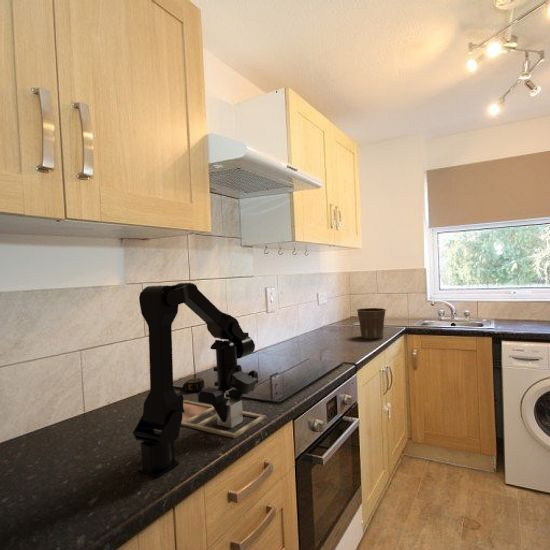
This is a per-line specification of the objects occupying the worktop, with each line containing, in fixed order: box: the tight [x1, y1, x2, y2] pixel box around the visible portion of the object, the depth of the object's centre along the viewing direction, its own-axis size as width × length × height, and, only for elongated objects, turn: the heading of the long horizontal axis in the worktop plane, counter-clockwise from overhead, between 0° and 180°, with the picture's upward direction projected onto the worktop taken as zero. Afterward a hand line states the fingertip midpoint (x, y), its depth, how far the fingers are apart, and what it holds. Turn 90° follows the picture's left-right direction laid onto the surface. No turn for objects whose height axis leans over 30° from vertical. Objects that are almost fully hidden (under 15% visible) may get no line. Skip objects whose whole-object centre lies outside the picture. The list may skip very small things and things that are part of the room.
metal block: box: [216, 397, 244, 429], centre depth 106 cm, size 5×5×6 cm
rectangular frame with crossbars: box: [181, 399, 267, 439], centre depth 111 cm, size 14×32×1 cm, turn 58°
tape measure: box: [182, 377, 205, 392], centre depth 138 cm, size 7×7×4 cm
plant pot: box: [356, 307, 387, 340], centre depth 217 cm, size 16×16×16 cm
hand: (230, 418), depth 106 cm, fingers closed on metal block, 5 cm apart
